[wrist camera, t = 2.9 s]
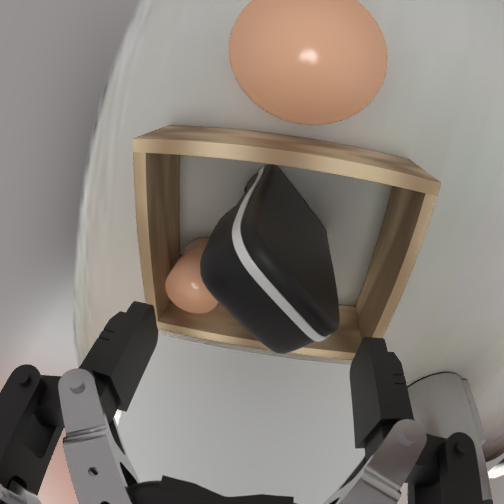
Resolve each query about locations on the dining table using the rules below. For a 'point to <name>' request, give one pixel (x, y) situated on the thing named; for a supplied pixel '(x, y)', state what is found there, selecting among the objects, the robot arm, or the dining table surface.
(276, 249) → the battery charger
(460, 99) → the dining table surface
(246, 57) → the saucer
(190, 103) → the dining table surface
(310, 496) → the lid
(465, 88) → the dining table surface
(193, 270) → the peach rounded capsule
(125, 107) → the dining table surface
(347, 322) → the wooden box
